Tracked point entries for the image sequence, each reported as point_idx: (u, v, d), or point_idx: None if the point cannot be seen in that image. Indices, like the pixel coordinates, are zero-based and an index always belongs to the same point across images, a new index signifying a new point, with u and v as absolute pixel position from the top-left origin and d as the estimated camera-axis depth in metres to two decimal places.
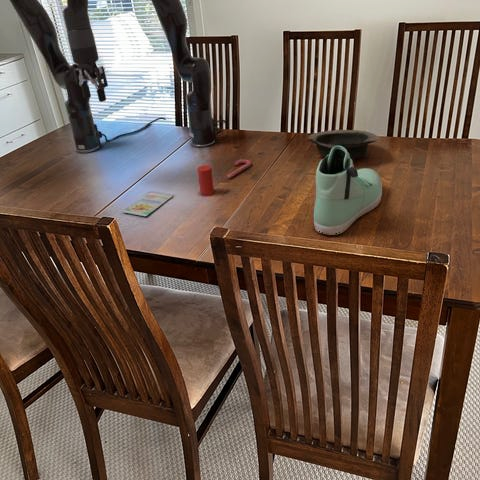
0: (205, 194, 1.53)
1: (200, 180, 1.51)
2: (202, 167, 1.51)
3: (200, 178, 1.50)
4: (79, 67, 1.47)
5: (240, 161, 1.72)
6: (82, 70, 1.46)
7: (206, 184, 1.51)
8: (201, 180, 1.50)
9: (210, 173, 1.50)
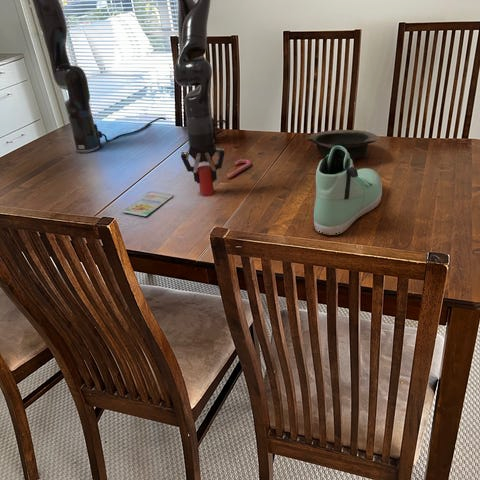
0: (205, 194, 1.53)
1: (200, 180, 1.51)
2: (202, 167, 1.51)
3: (200, 178, 1.50)
4: None
5: (240, 161, 1.72)
6: None
7: (206, 184, 1.51)
8: (201, 180, 1.50)
9: (210, 173, 1.50)
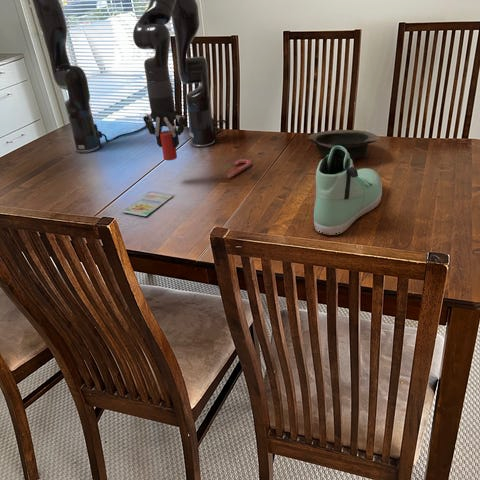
0: (166, 159, 1.56)
1: (161, 144, 1.55)
2: (165, 132, 1.54)
3: (161, 142, 1.54)
4: None
5: (240, 161, 1.72)
6: None
7: (166, 149, 1.54)
8: (162, 144, 1.54)
9: (170, 138, 1.53)
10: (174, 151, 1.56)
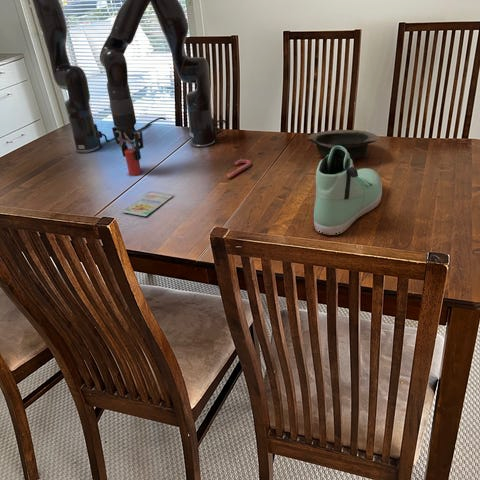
0: (129, 173, 1.72)
1: None
2: (130, 149, 1.69)
3: None
4: None
5: (240, 161, 1.72)
6: None
7: (128, 165, 1.69)
8: (126, 160, 1.70)
9: (131, 156, 1.67)
10: (136, 168, 1.70)
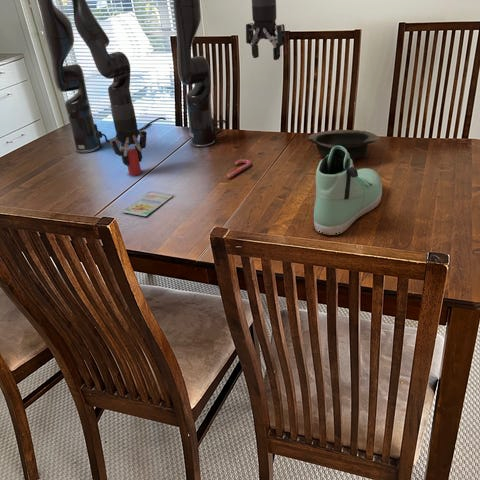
0: (129, 173, 1.72)
1: None
2: (130, 149, 1.69)
3: None
4: None
5: (240, 161, 1.72)
6: None
7: None
8: None
9: (131, 156, 1.67)
10: (136, 168, 1.70)
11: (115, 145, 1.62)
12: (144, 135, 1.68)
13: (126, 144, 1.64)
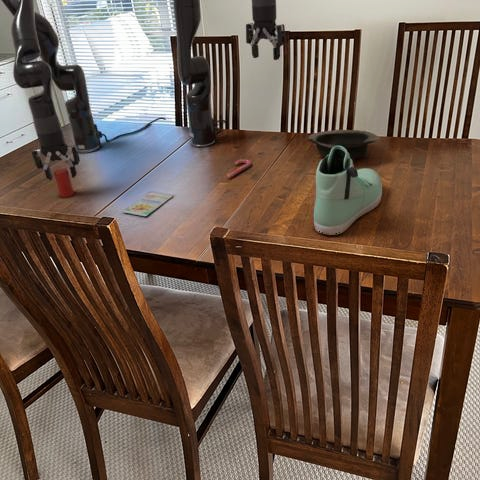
0: None
1: None
2: (62, 169, 1.57)
3: None
4: None
5: (240, 161, 1.72)
6: None
7: None
8: None
9: (57, 177, 1.56)
10: (63, 190, 1.58)
11: (34, 156, 1.52)
12: (73, 151, 1.52)
13: (47, 158, 1.52)
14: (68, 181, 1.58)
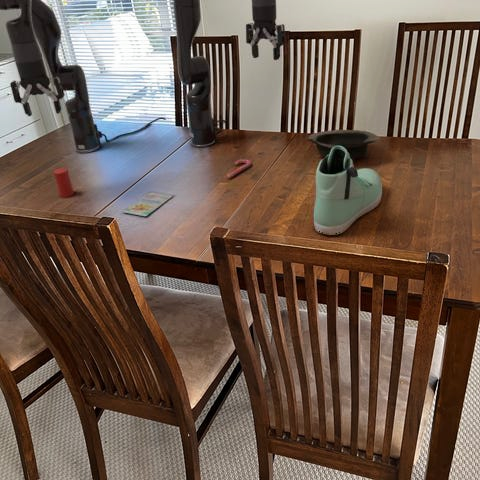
0: None
1: None
2: (62, 169, 1.57)
3: None
4: None
5: (240, 161, 1.72)
6: None
7: None
8: None
9: (57, 177, 1.56)
10: (63, 190, 1.58)
11: (13, 88, 1.41)
12: (55, 83, 1.41)
13: (27, 91, 1.41)
14: (68, 181, 1.58)
